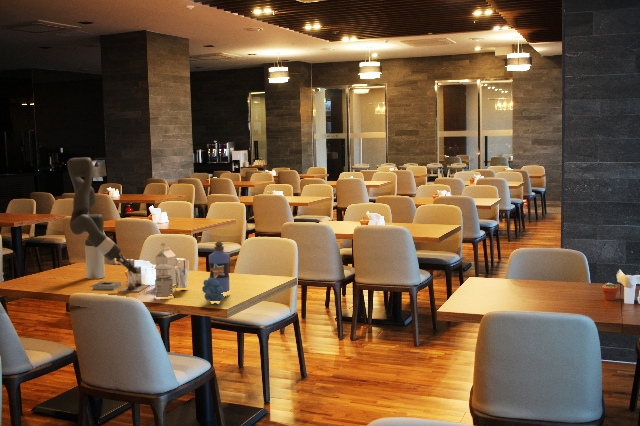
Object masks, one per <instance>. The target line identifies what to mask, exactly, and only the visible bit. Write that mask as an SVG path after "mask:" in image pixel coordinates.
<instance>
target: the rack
mask: <svg viewBox="0 0 640 426" xmlns="http://www.w3.org/2000/svg"><path fill="white" fill-rule="evenodd" d="M145 284H146V283H142V286H135V289H134V290H128V285H126V286H125V287H122V288H120V290H118V291H117V293H132V294H134V293H136V294H137V293H138V294H140V293H141V292H143V291H145V290H146V289H148V288H149V287H151V286H150V285H145Z"/></svg>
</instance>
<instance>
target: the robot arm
mask: <svg viewBox="0 0 640 426" xmlns="http://www.w3.org/2000/svg"><path fill="white" fill-rule="evenodd" d="M67 170H68V174H69V177H70V180H71V182H72V186H73V188H74V189H73V190H74V195H73V199H72V200H73V203H72V206H73V207H72V213H71V216H70V221H69V228H70V232H71V233H72V234H74V235H82V234H84V232H86V233H88V236H87V238H86V239H85V241H84V246H85V247H84V249H85V251H84V252H85V276H86V277H85V279H90V280H97V279H103V278H104V279H105V275H106V274H105V258H106V259H107V260H108V261H110V262H111V261H113V260H115V259H116V260H115V262H116V263H118V264H119V265H121V266H122V267H123V268H126V269H127V270H128V269H129V270H130V271H131V272H132V273H133V274H135V273H136V272H137V270H136V269H135V268H134V267H133V266H132V265H131V264H130V263H129V261H128V259H127V258H126V256H124V255H123V253H122V254H120V253H121V252H122V248H121V247H120V246H119V245H118V244H116V242H114V241H113V240H112V239H111V238H110V237H108V236H107V235H106V234H105V233H104V223H105V221H104V216H103V214H99V213H98V214H97V213H95V214H93V213H92V214H91V213H90V214H89V212H91V210H92V209H93V207H94V206H95V204H96V200H97V198H96V194H95V189H94V188H93V187H92V182H93V175H94V164H93V161H92V159H91V157H88V156H87V157H86V156H85V157H83V156H82V157H72V158H69V159H68V161H67ZM82 178H84V179H82Z"/></svg>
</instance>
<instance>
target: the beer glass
mask: <svg viewBox="0 0 640 426" xmlns="http://www.w3.org/2000/svg"><path fill="white" fill-rule="evenodd" d="M174 272H175V278H176V286H175V289H176V288H186V287H188V288H189V285H188V284H189V283H188V280H189V272H190V263H189V257H188V258H186V257H179V258H177V257H176V259H174Z"/></svg>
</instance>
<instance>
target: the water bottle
mask: <svg viewBox="0 0 640 426" xmlns="http://www.w3.org/2000/svg"><path fill="white" fill-rule="evenodd" d="M214 245H215V246H214V251H213V252H212V253H210V254H208V263H209V269H210V271H209V277H211V278H213V279H214V280H218V281H219V286H221V287H222V288H223V292H227V291H229V290H230V274H229V267H230V254H229V253H227V252H225V251H224V250H225V249H224V247H225V246H224V243H223V242H221V241H216V243H214Z"/></svg>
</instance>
